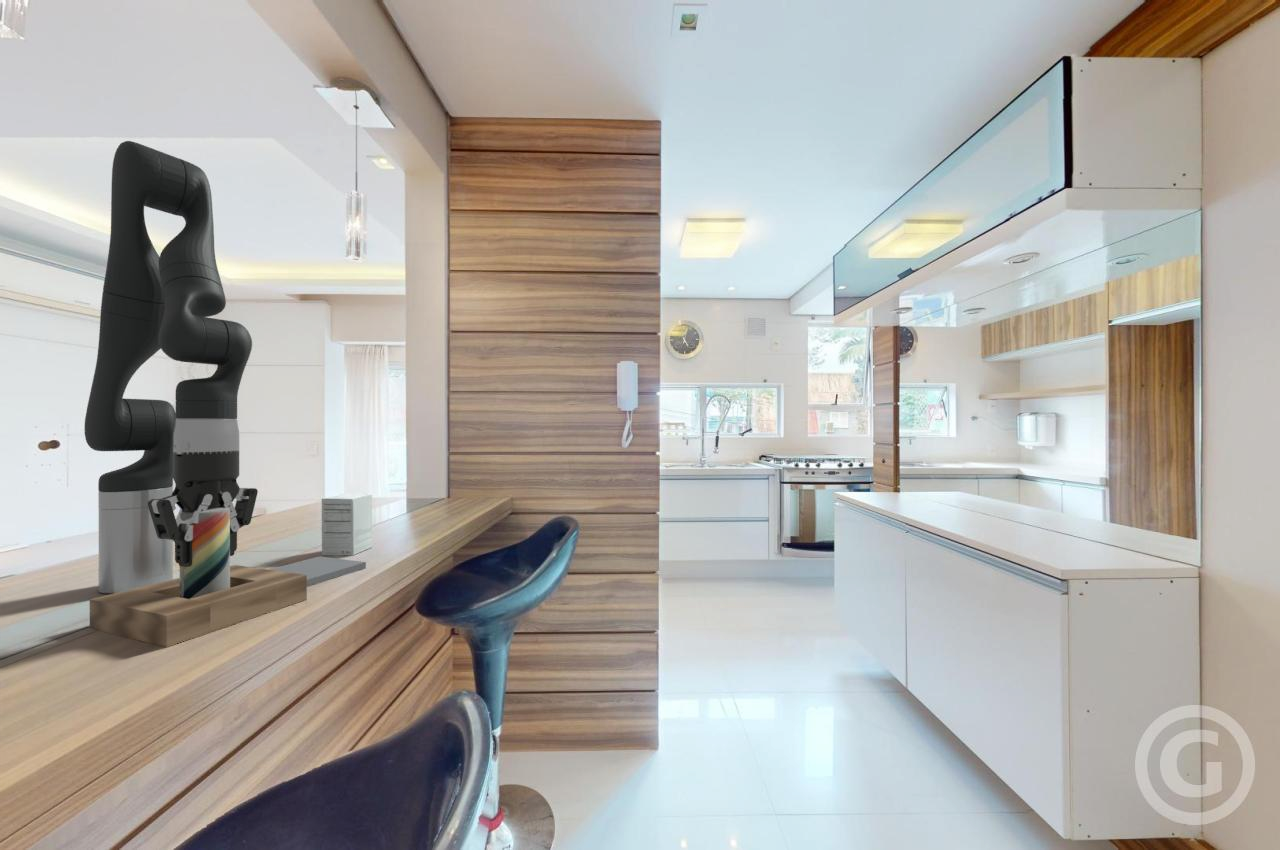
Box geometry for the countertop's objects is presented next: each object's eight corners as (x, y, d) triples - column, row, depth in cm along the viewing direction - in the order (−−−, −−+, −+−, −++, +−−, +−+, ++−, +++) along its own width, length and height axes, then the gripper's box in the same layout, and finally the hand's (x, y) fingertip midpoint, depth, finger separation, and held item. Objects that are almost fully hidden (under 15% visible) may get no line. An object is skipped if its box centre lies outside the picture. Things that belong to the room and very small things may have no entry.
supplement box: (343, 547, 114) (342, 493, 114) (373, 547, 113) (373, 493, 113) (320, 555, 106) (320, 498, 106) (352, 556, 106) (352, 498, 106)
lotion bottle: (171, 613, 72) (170, 478, 72) (216, 600, 77) (216, 475, 77) (193, 619, 70) (192, 480, 70) (238, 605, 75) (237, 476, 75)
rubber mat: (250, 580, 89) (250, 574, 89) (319, 562, 101) (319, 556, 101) (300, 588, 84) (300, 581, 84) (365, 568, 96) (365, 562, 96)
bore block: (89, 627, 68) (89, 599, 68) (234, 587, 85) (234, 564, 85) (166, 647, 62) (166, 615, 62) (306, 599, 79) (306, 575, 79)
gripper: (236, 446, 81) (236, 547, 81) (130, 451, 68) (130, 573, 67) (272, 447, 80) (272, 550, 80) (171, 451, 66) (170, 577, 66)
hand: (207, 560), depth 74 cm, fingers closed on lotion bottle, 5 cm apart
